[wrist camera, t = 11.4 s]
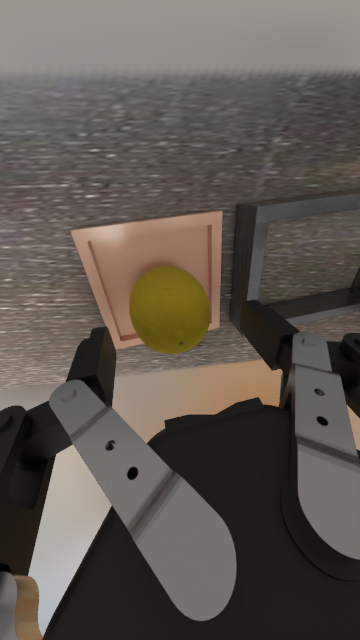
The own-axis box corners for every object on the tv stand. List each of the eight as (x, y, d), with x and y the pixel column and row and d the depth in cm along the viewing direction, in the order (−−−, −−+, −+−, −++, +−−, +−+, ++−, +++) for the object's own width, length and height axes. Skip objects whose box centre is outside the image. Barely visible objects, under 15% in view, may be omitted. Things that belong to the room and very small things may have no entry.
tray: (216, 209, 15) (222, 211, 14) (215, 321, 21) (219, 327, 20) (74, 227, 14) (70, 230, 13) (115, 342, 20) (114, 349, 19)
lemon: (114, 283, 16) (105, 345, 10) (165, 238, 15) (194, 273, 9) (157, 323, 19) (173, 390, 13) (203, 287, 18) (245, 341, 12)
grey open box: (405, 183, 18) (450, 181, 15) (355, 294, 24) (381, 306, 21) (237, 204, 15) (257, 206, 13) (229, 320, 22) (242, 336, 19)
